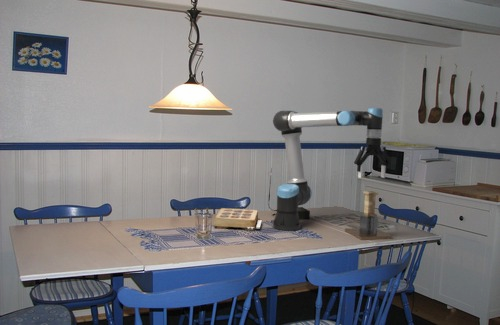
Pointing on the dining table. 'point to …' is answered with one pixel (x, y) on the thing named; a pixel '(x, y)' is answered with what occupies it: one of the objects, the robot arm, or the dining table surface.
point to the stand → (368, 229)
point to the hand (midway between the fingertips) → (371, 177)
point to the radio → (302, 211)
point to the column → (369, 203)
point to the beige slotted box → (237, 219)
